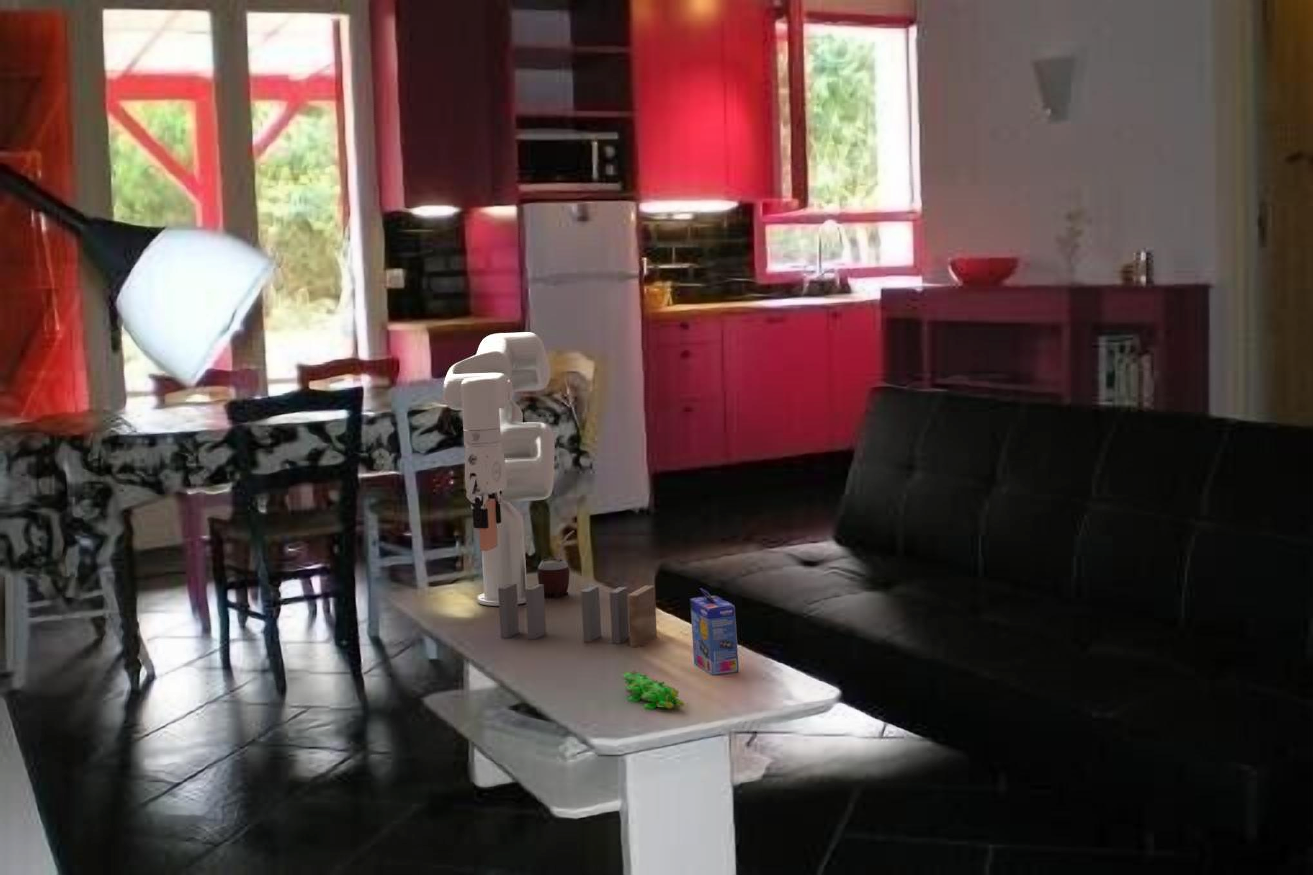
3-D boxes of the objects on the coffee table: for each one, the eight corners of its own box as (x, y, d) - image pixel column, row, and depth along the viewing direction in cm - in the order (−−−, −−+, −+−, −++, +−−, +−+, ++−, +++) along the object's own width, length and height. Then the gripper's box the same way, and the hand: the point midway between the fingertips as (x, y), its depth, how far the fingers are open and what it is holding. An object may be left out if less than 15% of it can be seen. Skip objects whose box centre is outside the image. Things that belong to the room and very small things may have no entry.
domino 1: (479, 550, 322) (477, 502, 321) (491, 546, 326) (488, 498, 325) (486, 551, 321) (484, 502, 320) (497, 546, 326) (495, 498, 325)
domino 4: (583, 641, 308) (581, 591, 307) (593, 635, 312) (591, 585, 311) (591, 641, 307) (588, 591, 306) (601, 635, 312) (598, 586, 311)
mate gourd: (535, 594, 354) (532, 528, 353) (569, 590, 357) (566, 525, 355) (543, 600, 347) (539, 533, 346) (578, 597, 350) (574, 530, 348)
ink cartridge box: (691, 663, 287) (688, 585, 286) (719, 659, 289) (716, 582, 288) (710, 676, 278) (707, 595, 277) (739, 672, 280) (736, 591, 278)
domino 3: (528, 638, 312) (525, 589, 311) (538, 632, 317) (536, 584, 316) (535, 639, 312) (532, 589, 310) (546, 633, 316) (543, 584, 315)
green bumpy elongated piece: (644, 687, 273) (643, 663, 273) (696, 711, 258) (695, 685, 257) (610, 693, 270) (609, 669, 270) (660, 718, 254) (659, 692, 254)
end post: (630, 646, 302) (627, 595, 301) (647, 635, 310) (645, 585, 309) (640, 646, 301) (637, 595, 300) (656, 635, 310) (654, 585, 309)
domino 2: (500, 637, 314) (498, 588, 313) (512, 631, 319) (509, 583, 318) (508, 637, 314) (505, 588, 313) (519, 632, 318) (516, 583, 317)
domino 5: (612, 642, 306) (609, 592, 305) (621, 636, 310) (619, 586, 309) (619, 643, 305) (617, 592, 304) (629, 637, 310) (627, 587, 309)
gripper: (479, 442, 312) (484, 533, 314) (517, 432, 328) (522, 518, 330) (446, 442, 315) (451, 532, 317) (485, 432, 330) (490, 518, 332)
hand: (487, 524), depth 323 cm, fingers closed on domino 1, 4 cm apart
